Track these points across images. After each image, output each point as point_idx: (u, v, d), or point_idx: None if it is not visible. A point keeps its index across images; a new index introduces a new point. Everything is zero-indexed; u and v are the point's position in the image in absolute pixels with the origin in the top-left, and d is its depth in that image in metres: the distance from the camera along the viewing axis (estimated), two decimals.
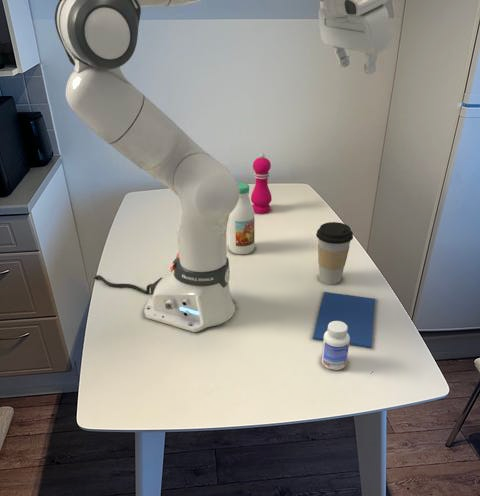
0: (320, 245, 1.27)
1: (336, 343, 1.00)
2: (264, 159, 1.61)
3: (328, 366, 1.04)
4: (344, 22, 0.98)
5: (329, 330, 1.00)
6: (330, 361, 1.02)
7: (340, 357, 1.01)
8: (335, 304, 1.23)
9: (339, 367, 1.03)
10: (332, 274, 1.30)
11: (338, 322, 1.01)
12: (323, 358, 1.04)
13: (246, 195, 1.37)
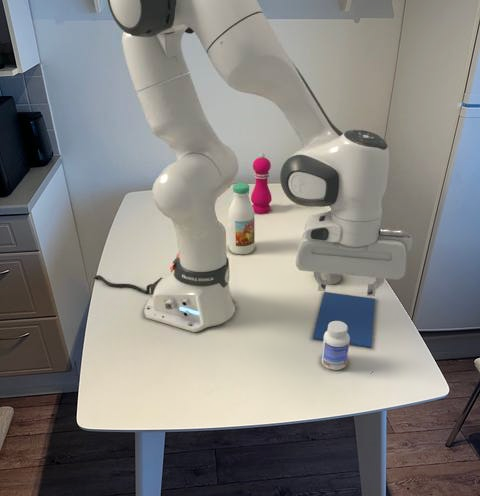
0: None
1: (336, 343, 1.00)
2: (264, 159, 1.61)
3: (328, 366, 1.04)
4: None
5: (329, 330, 1.00)
6: (330, 361, 1.02)
7: (340, 357, 1.01)
8: (335, 304, 1.23)
9: (339, 367, 1.03)
10: (332, 274, 1.30)
11: (338, 322, 1.01)
12: (323, 358, 1.04)
13: (246, 195, 1.37)
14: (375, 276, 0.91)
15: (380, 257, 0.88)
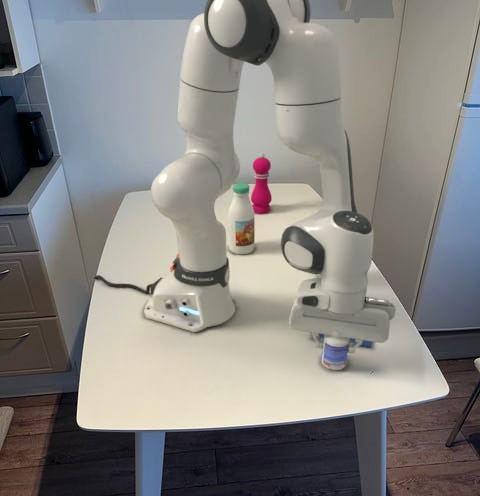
0: None
1: (336, 343, 1.00)
2: (264, 159, 1.61)
3: (328, 366, 1.04)
4: None
5: None
6: (330, 361, 1.02)
7: (340, 357, 1.01)
8: None
9: (339, 367, 1.03)
10: None
11: None
12: (323, 358, 1.04)
13: (246, 195, 1.37)
14: (361, 338, 0.98)
15: (366, 322, 0.96)
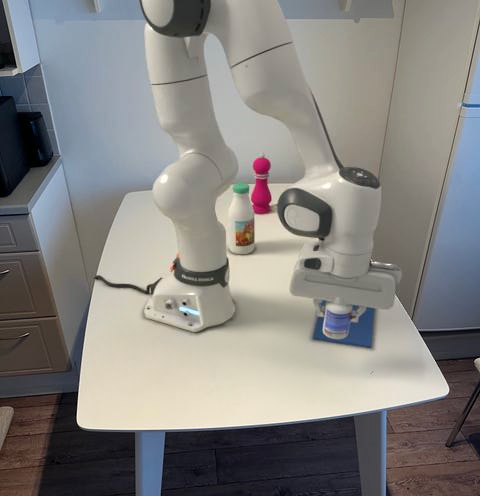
0: None
1: (339, 310, 0.95)
2: (264, 159, 1.61)
3: (329, 335, 0.99)
4: None
5: None
6: (332, 330, 0.98)
7: (342, 325, 0.97)
8: None
9: (341, 336, 0.99)
10: None
11: None
12: (324, 327, 0.99)
13: (246, 195, 1.37)
14: (365, 305, 0.94)
15: (371, 288, 0.92)
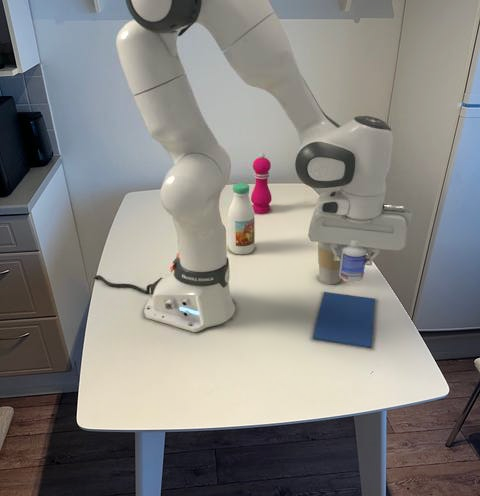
0: (320, 245, 1.27)
1: (354, 252, 1.03)
2: (264, 159, 1.61)
3: (346, 278, 1.07)
4: None
5: None
6: (348, 273, 1.06)
7: (357, 267, 1.05)
8: (335, 304, 1.23)
9: (356, 279, 1.07)
10: (332, 274, 1.30)
11: None
12: (341, 271, 1.08)
13: (246, 195, 1.37)
14: (378, 247, 1.02)
15: (384, 230, 1.00)
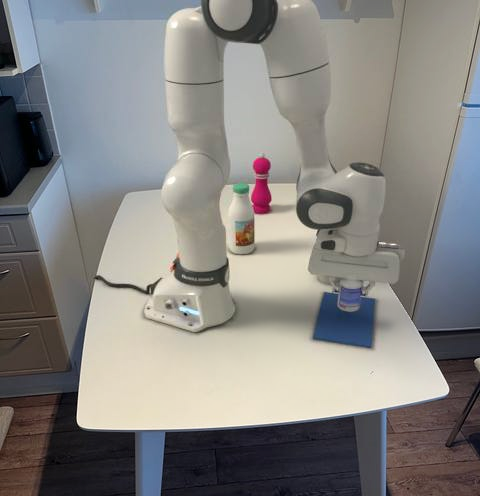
0: None
1: (351, 285, 1.10)
2: (264, 159, 1.61)
3: (343, 308, 1.14)
4: None
5: None
6: (345, 303, 1.13)
7: (354, 299, 1.12)
8: (335, 304, 1.23)
9: (353, 309, 1.14)
10: None
11: None
12: (339, 301, 1.15)
13: (246, 195, 1.37)
14: (374, 280, 1.09)
15: (378, 265, 1.07)
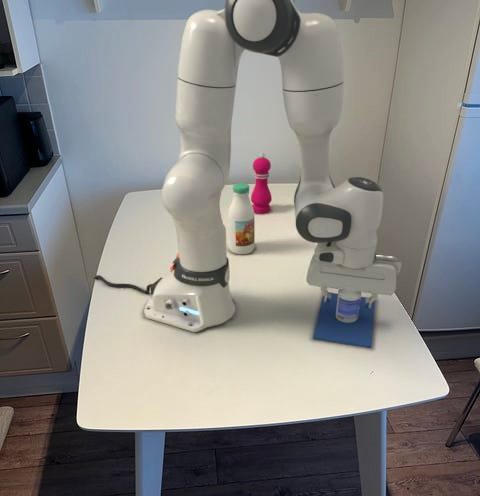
0: None
1: (349, 297, 1.12)
2: (264, 159, 1.61)
3: (342, 319, 1.16)
4: None
5: None
6: (343, 314, 1.15)
7: (352, 310, 1.14)
8: (335, 304, 1.23)
9: (351, 320, 1.16)
10: None
11: None
12: (337, 312, 1.17)
13: (246, 195, 1.37)
14: (371, 292, 1.11)
15: (375, 277, 1.09)
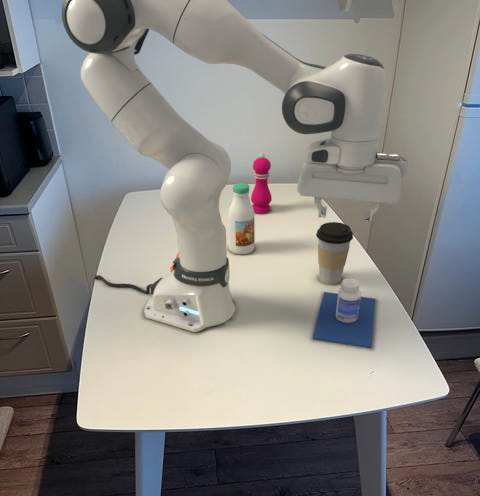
0: (320, 245, 1.27)
1: (349, 297, 1.12)
2: (264, 159, 1.61)
3: (342, 319, 1.16)
4: None
5: (343, 286, 1.12)
6: (343, 314, 1.15)
7: (352, 310, 1.14)
8: (335, 304, 1.23)
9: (351, 320, 1.16)
10: (332, 274, 1.30)
11: (351, 279, 1.14)
12: (337, 312, 1.17)
13: (246, 195, 1.37)
14: (372, 200, 0.96)
15: (377, 180, 0.94)
